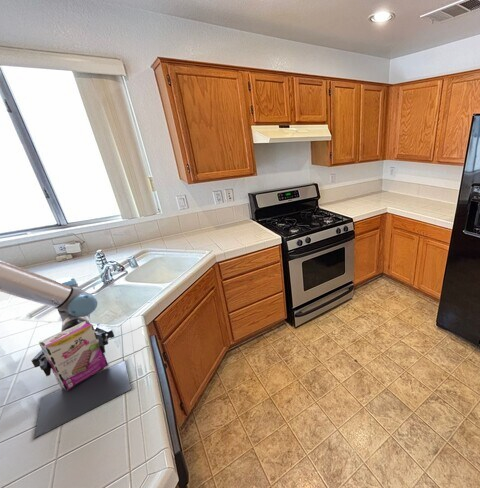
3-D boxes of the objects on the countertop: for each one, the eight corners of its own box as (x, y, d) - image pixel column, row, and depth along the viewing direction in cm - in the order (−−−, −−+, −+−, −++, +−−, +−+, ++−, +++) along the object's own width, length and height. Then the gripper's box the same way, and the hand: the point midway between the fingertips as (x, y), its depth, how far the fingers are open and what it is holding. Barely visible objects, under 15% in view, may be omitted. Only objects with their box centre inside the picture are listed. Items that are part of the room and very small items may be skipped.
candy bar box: (67, 392, 77) (44, 347, 72) (59, 386, 79) (36, 342, 74) (110, 365, 87) (92, 323, 81) (102, 360, 89) (84, 320, 83)
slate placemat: (34, 438, 65) (34, 437, 65) (41, 398, 76) (41, 397, 76) (131, 389, 77) (130, 389, 77) (124, 361, 89) (124, 360, 89)
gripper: (120, 322, 102) (128, 349, 86) (32, 354, 87) (22, 394, 71) (114, 305, 99) (121, 330, 84) (22, 336, 84) (9, 373, 69)
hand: (75, 360), depth 78 cm, fingers closed on candy bar box, 12 cm apart
